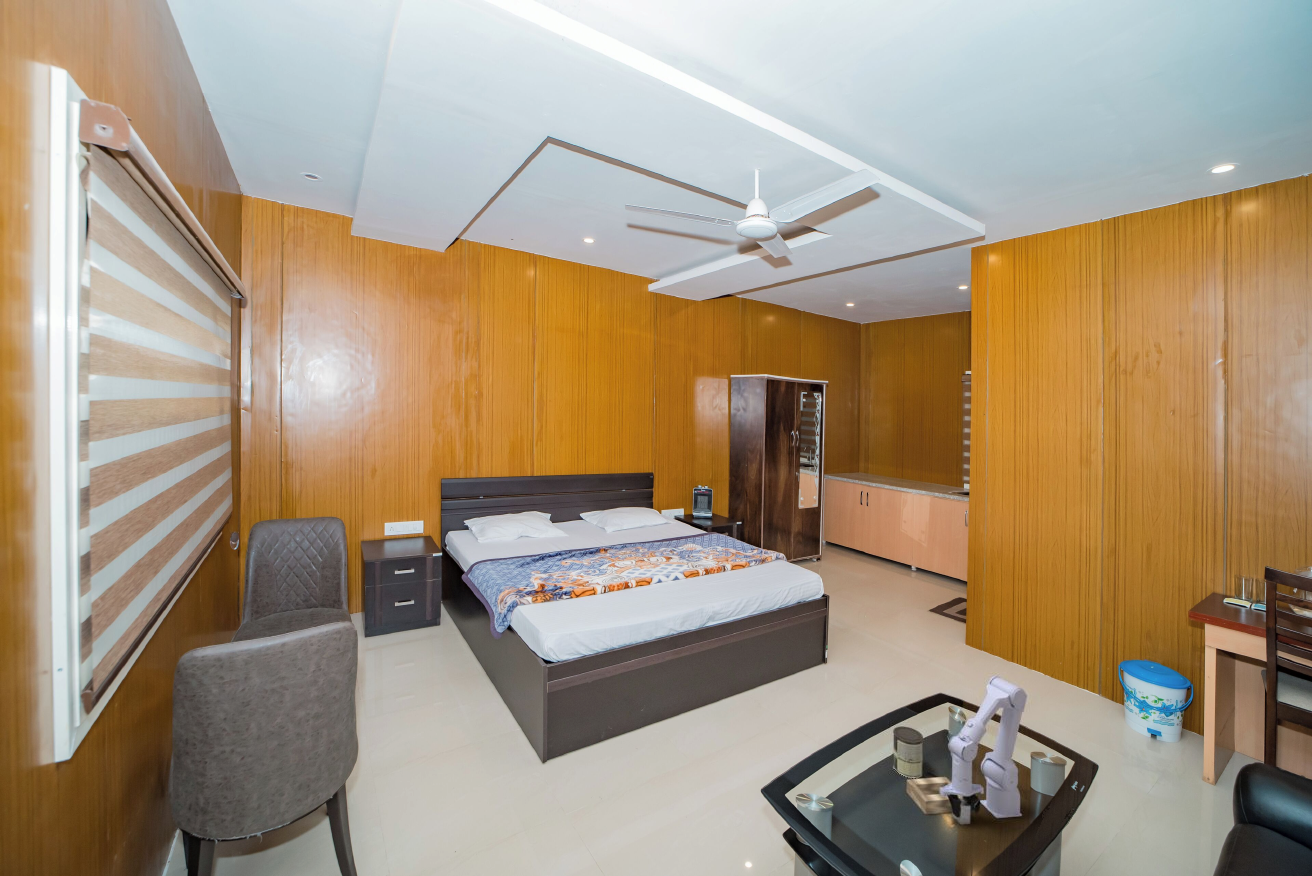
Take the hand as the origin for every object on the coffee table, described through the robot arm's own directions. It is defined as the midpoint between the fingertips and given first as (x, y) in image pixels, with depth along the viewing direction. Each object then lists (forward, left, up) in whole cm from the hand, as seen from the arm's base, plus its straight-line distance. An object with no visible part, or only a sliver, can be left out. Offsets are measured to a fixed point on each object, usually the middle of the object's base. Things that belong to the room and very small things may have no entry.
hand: (961, 814), depth 177 cm
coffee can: (+3, -26, -2) cm, 26 cm away
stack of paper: (0, 0, -2) cm, 2 cm away
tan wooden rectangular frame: (+3, -9, -2) cm, 10 cm away
